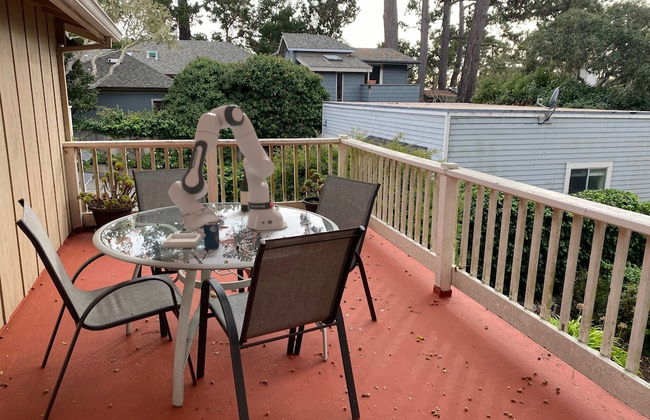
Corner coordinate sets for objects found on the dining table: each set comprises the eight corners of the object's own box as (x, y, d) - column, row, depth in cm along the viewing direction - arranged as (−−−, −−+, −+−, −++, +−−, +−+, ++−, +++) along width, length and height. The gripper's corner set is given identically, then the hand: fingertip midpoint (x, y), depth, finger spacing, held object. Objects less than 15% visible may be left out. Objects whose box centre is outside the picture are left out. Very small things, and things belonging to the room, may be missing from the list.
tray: (201, 239, 248) (201, 233, 247) (196, 247, 233) (195, 241, 233) (171, 239, 247) (170, 233, 246) (163, 248, 232) (163, 241, 231)
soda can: (220, 249, 231) (219, 224, 228) (205, 250, 229) (203, 225, 226) (218, 245, 237) (218, 221, 235) (204, 246, 236) (203, 222, 233)
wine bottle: (248, 211, 308) (246, 164, 302) (238, 210, 312) (236, 163, 306) (256, 209, 315) (255, 162, 309) (246, 207, 319) (245, 161, 313)
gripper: (182, 211, 223) (201, 235, 221) (209, 203, 241) (227, 224, 239) (175, 220, 225) (193, 243, 224) (202, 211, 244) (219, 232, 242)
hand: (211, 233), depth 232 cm, fingers open, 8 cm apart
